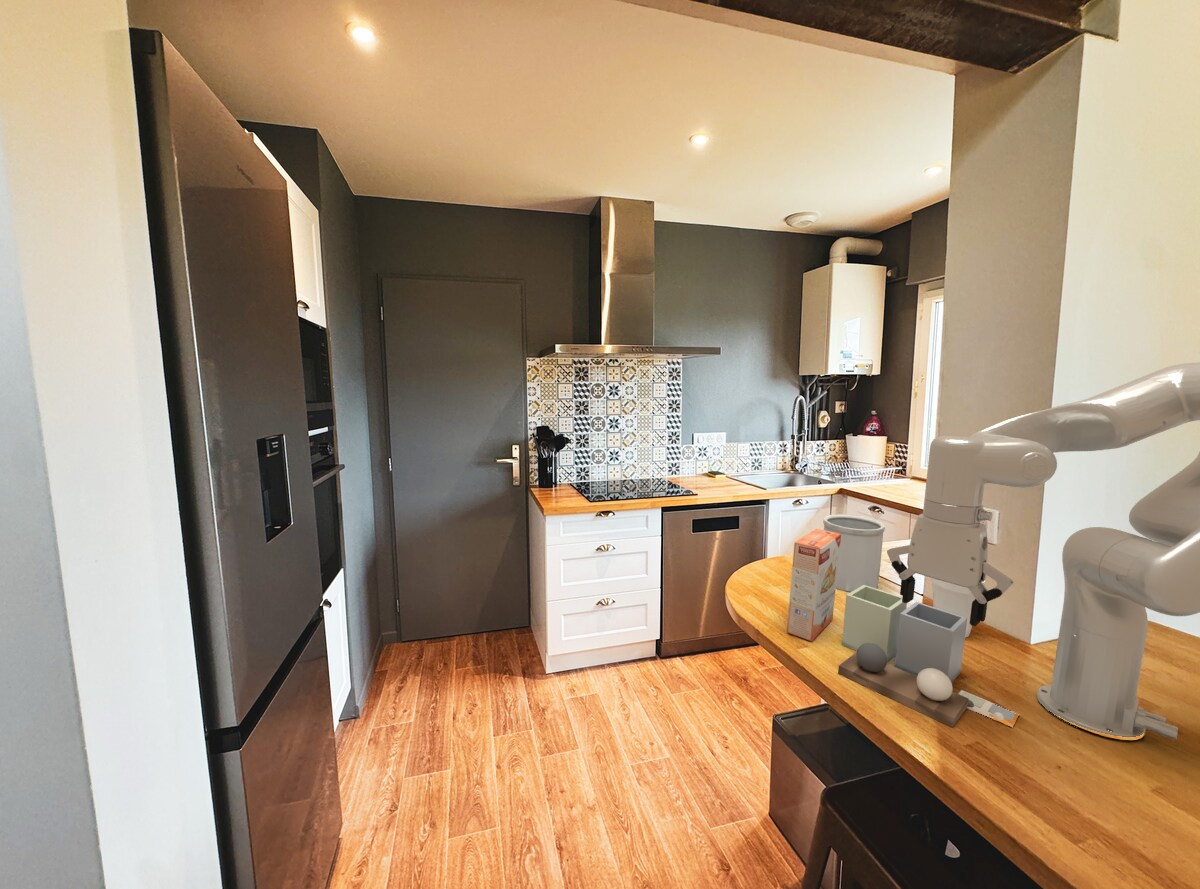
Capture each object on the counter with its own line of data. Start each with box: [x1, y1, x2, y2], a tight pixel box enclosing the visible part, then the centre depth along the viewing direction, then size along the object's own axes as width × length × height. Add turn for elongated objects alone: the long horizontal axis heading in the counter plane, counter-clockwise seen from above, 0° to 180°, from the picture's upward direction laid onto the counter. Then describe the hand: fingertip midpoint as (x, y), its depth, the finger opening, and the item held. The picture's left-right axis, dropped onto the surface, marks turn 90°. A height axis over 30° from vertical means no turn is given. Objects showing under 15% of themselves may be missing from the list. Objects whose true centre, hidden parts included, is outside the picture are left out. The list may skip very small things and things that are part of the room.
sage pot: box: [841, 585, 908, 663], centre depth 98 cm, size 8×8×11 cm
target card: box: [958, 689, 1017, 721], centre depth 80 cm, size 8×5×1 cm, turn 39°
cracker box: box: [786, 528, 841, 643], centre depth 106 cm, size 14×6×21 cm, turn 137°
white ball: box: [917, 668, 954, 701], centre depth 81 cm, size 5×5×5 cm
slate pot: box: [894, 601, 967, 684], centre depth 91 cm, size 8×8×11 cm
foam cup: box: [930, 578, 986, 639], centre depth 106 cm, size 10×9×13 cm
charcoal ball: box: [855, 643, 888, 672], centre depth 89 cm, size 5×5×5 cm
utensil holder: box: [822, 514, 886, 593], centre depth 130 cm, size 15×15×18 cm
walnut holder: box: [837, 652, 969, 728], centre depth 85 cm, size 18×8×2 cm, turn 39°
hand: (939, 611), depth 80 cm, fingers open, 9 cm apart
